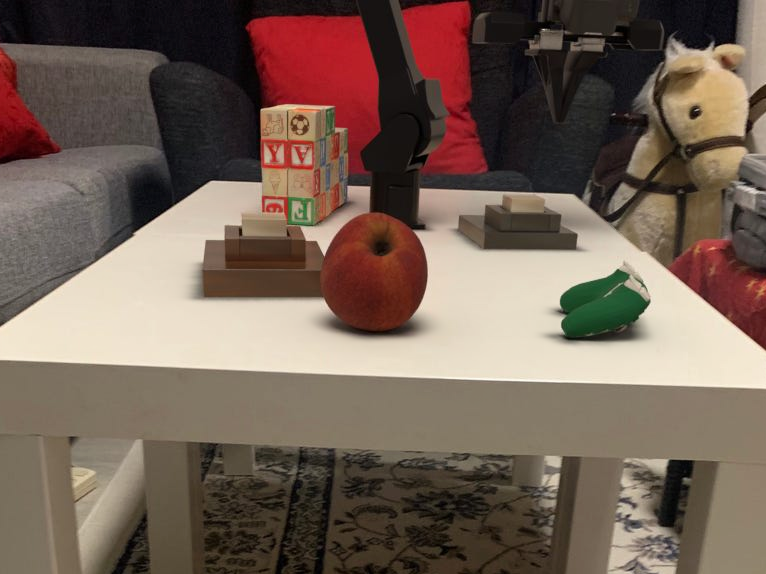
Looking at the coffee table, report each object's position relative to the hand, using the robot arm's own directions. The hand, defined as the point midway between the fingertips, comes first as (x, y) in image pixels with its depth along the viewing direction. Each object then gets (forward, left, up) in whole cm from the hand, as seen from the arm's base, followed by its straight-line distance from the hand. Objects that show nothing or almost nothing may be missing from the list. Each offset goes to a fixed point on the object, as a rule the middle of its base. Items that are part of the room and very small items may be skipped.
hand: (558, 123), depth 99 cm
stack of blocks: (-18, -25, -12) cm, 33 cm away
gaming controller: (+38, -8, -12) cm, 41 cm away
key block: (+22, -32, -12) cm, 41 cm away
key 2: (+3, -4, -9) cm, 10 cm away
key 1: (+22, -32, -8) cm, 40 cm away
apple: (+38, -25, -12) cm, 47 cm away
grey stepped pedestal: (+1, -4, -12) cm, 13 cm away
